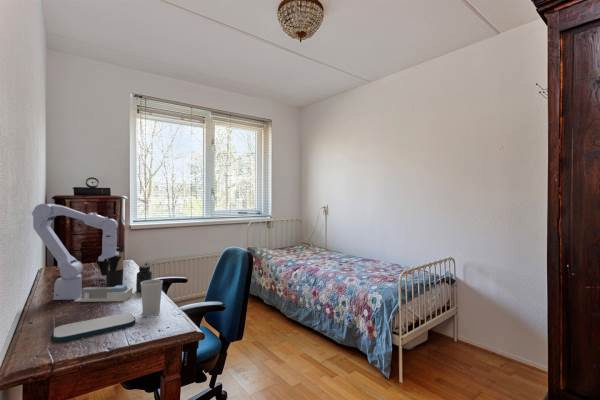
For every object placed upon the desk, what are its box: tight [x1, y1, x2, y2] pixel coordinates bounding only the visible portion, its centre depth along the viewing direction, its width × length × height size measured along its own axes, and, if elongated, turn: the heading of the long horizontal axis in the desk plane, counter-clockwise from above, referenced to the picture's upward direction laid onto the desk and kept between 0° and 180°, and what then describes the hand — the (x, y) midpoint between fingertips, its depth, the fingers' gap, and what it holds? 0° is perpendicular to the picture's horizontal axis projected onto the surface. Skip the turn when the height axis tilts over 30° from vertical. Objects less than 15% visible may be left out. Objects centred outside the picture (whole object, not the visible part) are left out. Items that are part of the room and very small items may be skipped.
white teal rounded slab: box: [52, 312, 136, 343], centre depth 106 cm, size 24×12×2 cm, turn 129°
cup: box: [140, 279, 164, 316], centre depth 123 cm, size 8×8×12 cm
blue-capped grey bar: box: [81, 284, 128, 298], centre depth 138 cm, size 18×4×4 cm, turn 96°
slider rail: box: [73, 287, 134, 303], centre depth 138 cm, size 21×9×4 cm, turn 96°
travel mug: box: [105, 245, 125, 287], centre depth 157 cm, size 8×8×20 cm
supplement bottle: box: [135, 265, 153, 293], centre depth 150 cm, size 7×7×12 cm
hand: (108, 273), depth 143 cm, fingers open, 7 cm apart
